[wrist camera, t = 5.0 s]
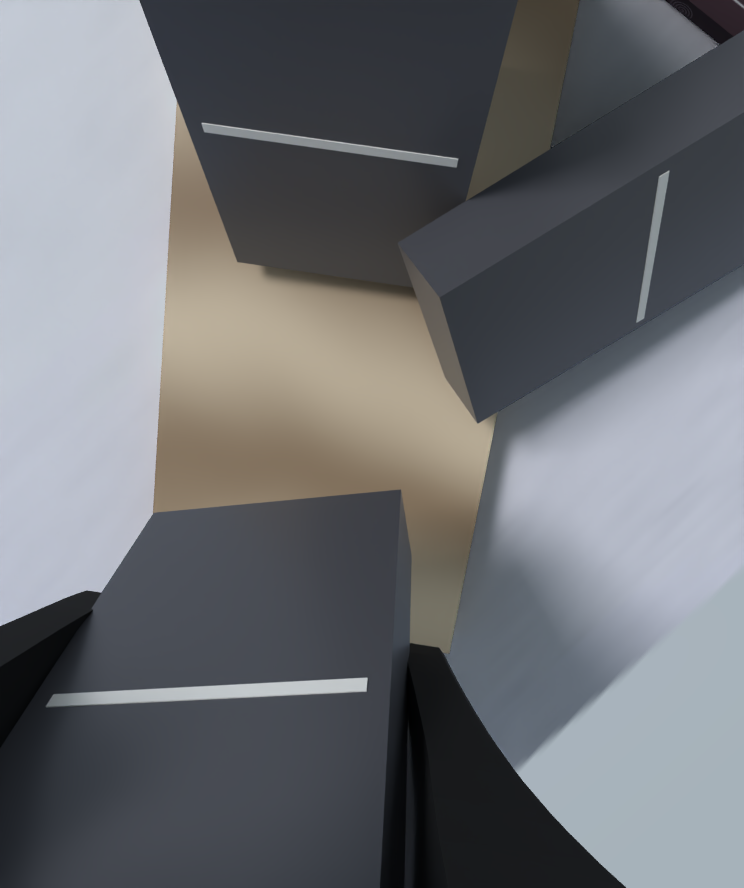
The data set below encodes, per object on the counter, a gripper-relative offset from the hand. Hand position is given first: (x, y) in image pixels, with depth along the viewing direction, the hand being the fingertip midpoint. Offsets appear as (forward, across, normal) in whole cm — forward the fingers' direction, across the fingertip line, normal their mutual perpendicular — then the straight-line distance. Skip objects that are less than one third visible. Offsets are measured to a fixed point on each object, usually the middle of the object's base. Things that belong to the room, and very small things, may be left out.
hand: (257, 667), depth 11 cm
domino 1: (+6, 0, -8) cm, 10 cm away
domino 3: (+4, -3, -6) cm, 7 cm away
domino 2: (+2, 0, -2) cm, 3 cm away
